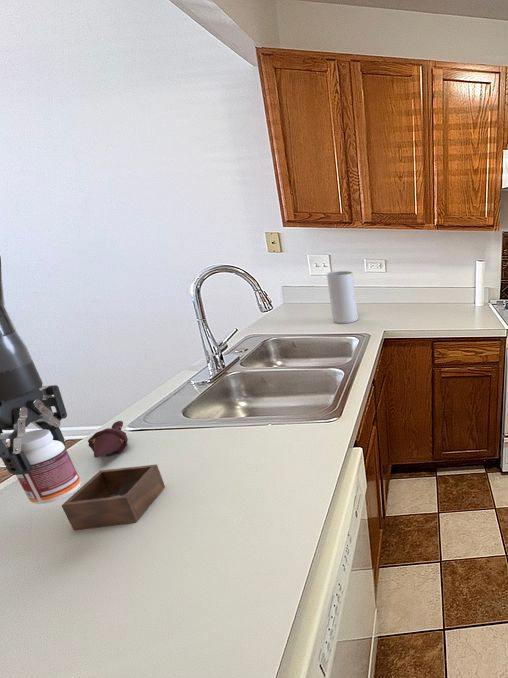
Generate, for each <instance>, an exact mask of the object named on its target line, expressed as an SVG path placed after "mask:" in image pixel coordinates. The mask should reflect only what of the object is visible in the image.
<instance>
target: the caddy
mask: <svg viewBox="0 0 508 678" xmlns="http://www.w3.org/2000/svg"><path fill="white" fill-rule="evenodd" d="M165 488H166V485H165V482H164V480H163V476H162V474H161V472H160V468H159V466H158V464H148V465H140V466H130V467H120V468H110V469H101V470H99V471H98V472H96V473H95V474H94V476H92V477H90V479H89V480H88V481H86V483H84V484H83V485H82V486H80V487H79V488H78V489H77V490H76V491H75V492H74V493H72V494H71V496H70V497H68V499H67V500H65V502H63V503H62V504H61V508H62V511H63V512H64V514H65V516H66V518H67V520H68V522H69V524H70V526H71V528H72V531H79V530H87V529H95V528H103V527H109V526H110V527H111V526H119V525H126V524H127V525H128V524H134V523H138V521H139V520H140V519H141V518H142V517H143V515H144V514H145V513H146V511H147V510H148V509H149V508H150V506H151V505H152V504H153V503H154V501H155V500H156V499H157V498H158V497H159V495H160V494H161V493H162V491H163V490H164V489H165ZM117 495H118V496H117Z"/></svg>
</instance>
